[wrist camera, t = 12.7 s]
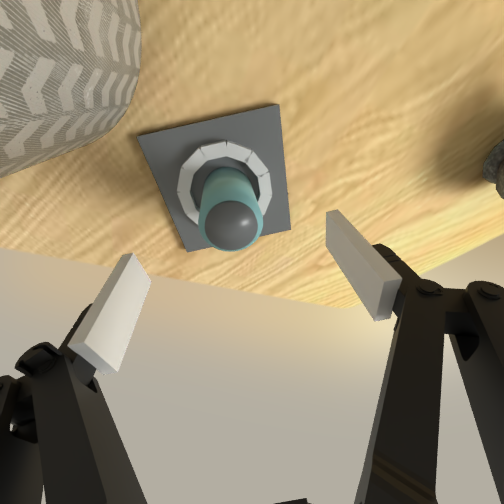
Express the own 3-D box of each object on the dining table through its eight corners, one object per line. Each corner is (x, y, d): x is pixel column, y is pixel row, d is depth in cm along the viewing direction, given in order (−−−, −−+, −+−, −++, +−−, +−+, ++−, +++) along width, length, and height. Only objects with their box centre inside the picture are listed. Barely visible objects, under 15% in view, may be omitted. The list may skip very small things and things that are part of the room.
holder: (138, 135, 22) (133, 138, 21) (277, 104, 22) (281, 104, 21) (187, 248, 30) (186, 256, 29) (289, 226, 30) (292, 233, 29)
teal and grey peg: (197, 172, 24) (188, 204, 17) (247, 162, 24) (259, 189, 17) (210, 217, 27) (208, 260, 20) (255, 208, 27) (268, 248, 20)
